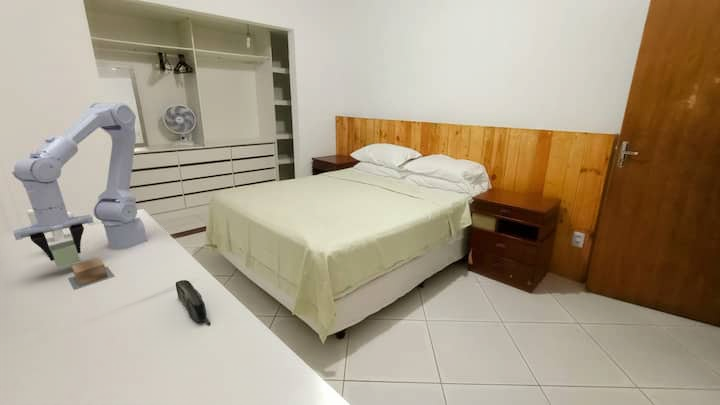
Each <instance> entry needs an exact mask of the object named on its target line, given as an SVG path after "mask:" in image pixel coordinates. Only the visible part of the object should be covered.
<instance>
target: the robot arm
mask: <svg viewBox="0 0 720 405" xmlns="http://www.w3.org/2000/svg"><path fill="white" fill-rule="evenodd" d="M136 117H137V116H136V114H135V112H134V111H133V109H132V108H131V107H130V106H129V105H128V104H126V103H124V102H117V103H100V102H94V103H92V104H90V105H89V107H87V108H85V109H84V110H83V114H82V115H81V116H80V117H79V118H78V119H77V121H75V122H73V124H72V125H71V126H70V128H68V129H67V131H65V133H64V134H62V135H53V136H48V137H46V138H45V139H44V141H45V143H43V144H42V145H41V146H40V147H38V149H36V150H35V151H34V150H33V151H32V152H30V153H29V154H30V155H29V157H25V158H21V159H19V160H18V161H17V162H16V163H15V164H14V171H12V173H11V174H12V175H13V177H14V178H15V179H17V180H18V181H20V182H21V184H22V185H23V188H25V191H26V193H27V196H28V200H29V202H30V205H31V208H32V209H33V211H34V214H35V217H36V220H37V222H38V224H37V225H33V226H32V225H29V226H27V227H23V228H19V229H14V230H12V233H13V234H12V235H13V236H14V238H15V240H16V241H18V240H23V238H24V239H25V238H28V237H29V238H30V240H31V241H32V242H33V243H34V244H35V245H36V246H37V247H39V248H40V249H41V250H42V251H43V252H44V253H45V254H46V255H47V257H48V258H49V260H50V262H52V261H53V262H54V257H53V255H52V253H51V250H50V249H49V246H48V243H47V240H46V239H47V238H46V234H48V233H50V232H51V231H56V230H60V229H62V230H63V229H65V230H66V229H67V228H68V230H69V233H71V235H72V238H73V242H74V244H75V246H76V249H77V252H78V255H79V254H81V253H82V252H81V242H82V237H83V234H84V231H85V230H84V229H85V227H84V226H83V225H86V224H89V225H90V224H94V223H95V222H94V218H93V215H94V217H95V218H96V219H97V220H99V221H101V224H102V225H103V227H104V231H105V234H106V238H107V242H108V246H109V249H110V250H114V251H115V250H125V249H128V248H131V247H132V248H133V247H134V246H136V245H141V244H143V243H147V242H148V236H147V233H146V229H145V225H144V222H143V220H142V219H141V217H137V215H138V208H137V198H136V197H135V196H134V195H133V194H131V192H130V186H131V178H132V172H133V163H134V157H135V156H134V154H135V149H136V148H135V147H136V140H137V134H136V129H135V128H136V127H135V126H136V125H135V124H136V119H137V118H136ZM99 128H100V129H101V130H103V131H104V132H105V133H107V134H108V135H109V136H110V137H111V138H112V145H111V152H110V157H109V168H108V175H107V180H106V181H107V182H106V187H105V188H106V189H105V190H104V191H102V193H100V194H99V195H98V199H97V202H96V203H95V204H94V206H93V210H92V211H93V215H92V214H85V215H79V216H74V217H71V218H69V216H68V213H67V212H68V211H67V206H66V205H65V202H64V197H63V195H62V192H61V189H60V185H59V182H58V179H60V177H61V175H62V168H63V166H65V164H67V163H68V162H69V161H70V160H71V159H72V158H73V157H74V156H75V155H76V154H77V153H78V152H79V149H78V145H79V144H80V143H81V142H83V141H84V140H85V139H86V138H88V137H89V136H90V135H91V134H92V133H94V132H95V131H96V130H98V129H99ZM51 233H52V232H51Z"/></svg>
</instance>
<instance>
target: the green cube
mask: <svg viewBox="0 0 720 405" xmlns="http://www.w3.org/2000/svg"><path fill="white" fill-rule="evenodd" d="M49 247H50V251H51V253H52V255H53V257H54V260H53V262H54V263H55V265H56V268H60V267H63V266H68V265H71V264H75V263H78V262H81V259H80V255H79V254H78V252H77V249H76V246H75V244H74V242H73V241H69V242H64V243H60V244H56V245H52V246H49Z"/></svg>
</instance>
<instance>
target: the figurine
mask: <svg viewBox="0 0 720 405" xmlns="http://www.w3.org/2000/svg"><path fill="white" fill-rule="evenodd" d="M26 212H27V216H28V218H29V221H30V224H31V226H33V225H37V224H38V222H37V220H36V217H35V214H34V211H33V208H32V209H31V208H30V209H27V211H26ZM67 213H68V216H69V218H71V217H75V215H74V214H73V212H72V211H67ZM51 235H52V237H49V238H46V240H47V243H48V246H52V245H56V244H60V243H64V242H69V241H73V238H72V235H71V232H69V233H66V234H64V231H63V229H60V230H56V231H51ZM49 249H50V247H49Z"/></svg>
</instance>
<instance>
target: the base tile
mask: <svg viewBox="0 0 720 405" xmlns="http://www.w3.org/2000/svg"><path fill="white" fill-rule="evenodd" d="M105 269H106V272H107V276H108V277H105V278H102V279H99V280H96V281H93V282H90V283H87V284H84V285H81V286H79V284H78V282H77V280H76V278H75V275H73V276H71V277H68V278H67V279H68V281H69V283H70V285H71V287H72V289H73V291H75V290H79V289H81V288H85V287H87V286H90V285H94V284H97V283H99V282H102V281H105V280H109V279H112V278H114V277H115V274H114V273H113V272H112V271H111V269H110V268H109V267H108V266H106V265H105Z"/></svg>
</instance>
